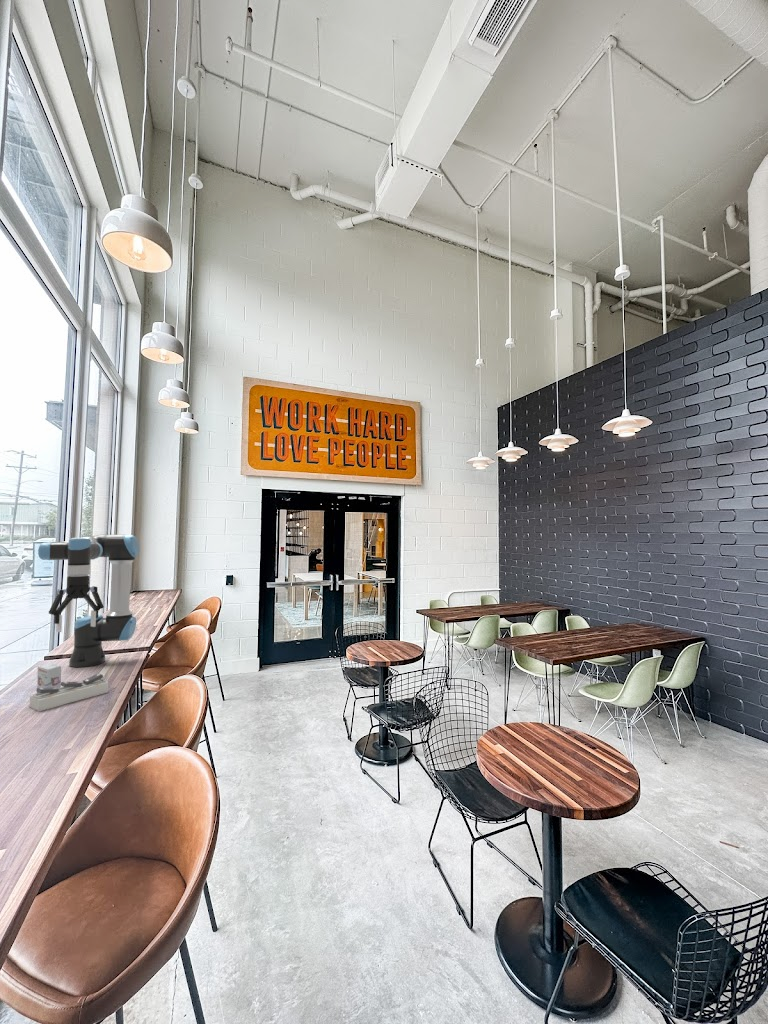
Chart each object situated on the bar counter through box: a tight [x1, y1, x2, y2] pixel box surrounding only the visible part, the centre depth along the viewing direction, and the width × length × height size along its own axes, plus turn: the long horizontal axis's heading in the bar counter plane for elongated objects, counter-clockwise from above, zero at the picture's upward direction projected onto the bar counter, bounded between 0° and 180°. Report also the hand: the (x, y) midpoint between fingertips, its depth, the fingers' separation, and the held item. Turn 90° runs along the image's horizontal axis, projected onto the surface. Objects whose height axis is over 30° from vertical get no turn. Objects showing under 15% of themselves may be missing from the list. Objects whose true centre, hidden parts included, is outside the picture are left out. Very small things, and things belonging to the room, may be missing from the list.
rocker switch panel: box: [29, 678, 109, 712], centre depth 176 cm, size 24×8×5 cm, turn 147°
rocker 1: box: [35, 687, 59, 693], centre depth 169 cm, size 6×4×1 cm, turn 147°
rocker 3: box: [82, 672, 104, 685], centre depth 183 cm, size 6×4×1 cm, turn 147°
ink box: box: [36, 662, 62, 694], centre depth 180 cm, size 9×5×12 cm, turn 62°
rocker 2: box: [61, 681, 82, 687], centre depth 176 cm, size 6×4×1 cm, turn 147°
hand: (76, 629), depth 182 cm, fingers open, 12 cm apart
